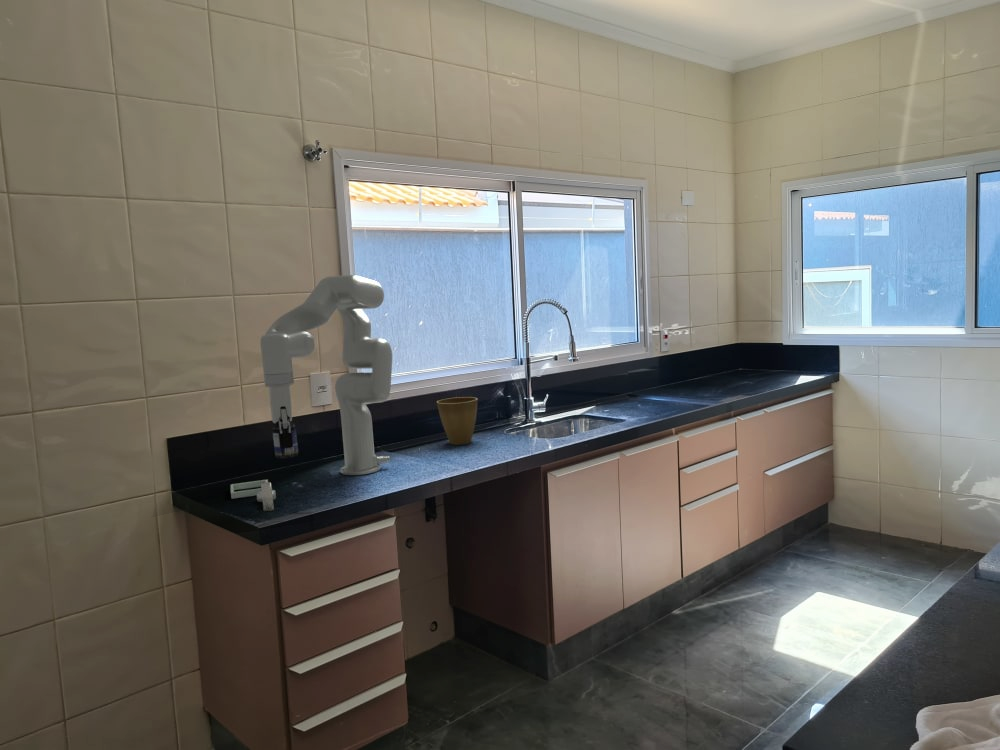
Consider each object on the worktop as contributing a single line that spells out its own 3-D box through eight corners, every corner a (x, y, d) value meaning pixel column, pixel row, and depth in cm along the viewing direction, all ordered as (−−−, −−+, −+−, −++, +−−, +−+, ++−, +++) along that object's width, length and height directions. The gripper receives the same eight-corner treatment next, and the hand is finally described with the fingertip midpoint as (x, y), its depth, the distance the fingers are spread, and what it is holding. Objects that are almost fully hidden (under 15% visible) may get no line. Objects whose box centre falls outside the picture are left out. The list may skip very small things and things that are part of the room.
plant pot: (483, 438, 280) (480, 395, 278) (476, 446, 266) (473, 402, 264) (444, 439, 283) (441, 397, 281) (435, 447, 268) (432, 403, 266)
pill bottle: (300, 452, 207) (296, 413, 205) (295, 457, 201) (291, 417, 199) (278, 454, 207) (274, 414, 205) (272, 459, 201) (268, 419, 199)
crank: (256, 498, 209) (254, 473, 208) (275, 495, 211) (273, 471, 210) (259, 512, 195) (256, 486, 194) (278, 509, 197) (276, 483, 196)
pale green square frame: (268, 489, 224) (267, 479, 223) (270, 497, 214) (269, 487, 214) (231, 494, 220) (230, 484, 220) (231, 503, 211) (230, 493, 210)
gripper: (263, 377, 208) (269, 441, 210) (266, 384, 192) (273, 453, 194) (290, 374, 210) (297, 437, 213) (296, 381, 194) (303, 449, 197)
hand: (285, 444), depth 203 cm, fingers closed on pill bottle, 6 cm apart
